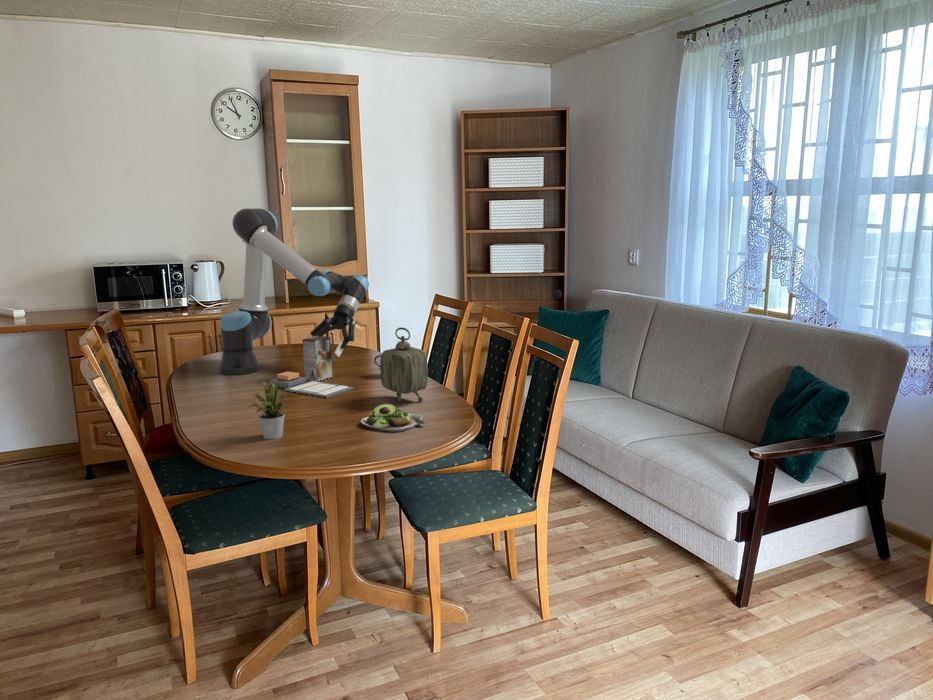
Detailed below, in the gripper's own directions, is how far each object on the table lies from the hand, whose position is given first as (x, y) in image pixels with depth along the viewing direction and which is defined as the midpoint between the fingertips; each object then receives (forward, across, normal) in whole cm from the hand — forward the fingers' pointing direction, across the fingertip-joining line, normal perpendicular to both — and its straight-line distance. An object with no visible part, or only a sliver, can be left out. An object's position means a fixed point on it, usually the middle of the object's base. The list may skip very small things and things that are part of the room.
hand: (322, 353), depth 262 cm
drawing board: (+18, -11, +4) cm, 21 cm away
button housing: (+17, +4, +4) cm, 18 cm away
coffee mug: (-3, -21, -18) cm, 28 cm away
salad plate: (+32, -57, +17) cm, 67 cm away
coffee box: (+8, +1, -6) cm, 10 cm away
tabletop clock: (+16, -46, +2) cm, 48 cm away
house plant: (+50, -33, +36) cm, 70 cm away
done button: (+15, +4, +6) cm, 17 cm away
